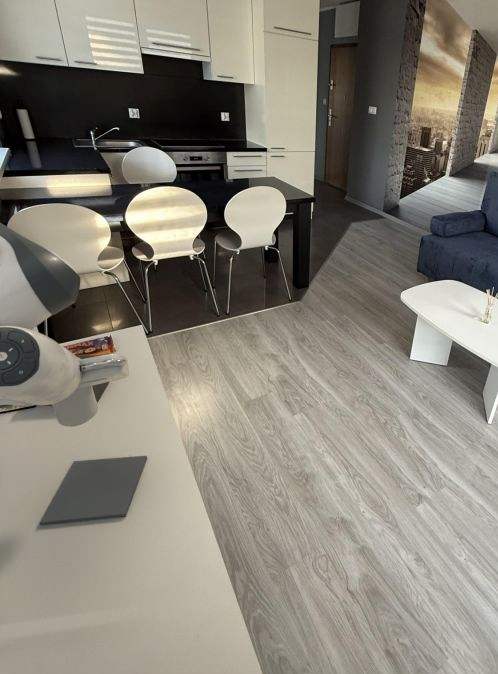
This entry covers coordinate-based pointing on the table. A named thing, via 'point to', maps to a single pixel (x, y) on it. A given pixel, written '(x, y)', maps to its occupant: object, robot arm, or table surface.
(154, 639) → the table surface
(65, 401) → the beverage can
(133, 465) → the mat
